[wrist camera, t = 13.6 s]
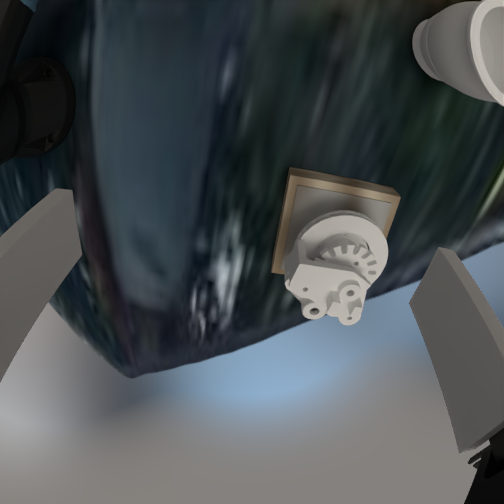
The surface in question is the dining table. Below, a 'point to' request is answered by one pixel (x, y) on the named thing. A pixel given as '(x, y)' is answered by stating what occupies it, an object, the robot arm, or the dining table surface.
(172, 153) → the dining table surface
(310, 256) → the mechanical part
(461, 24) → the jar
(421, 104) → the dining table surface
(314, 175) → the stand
